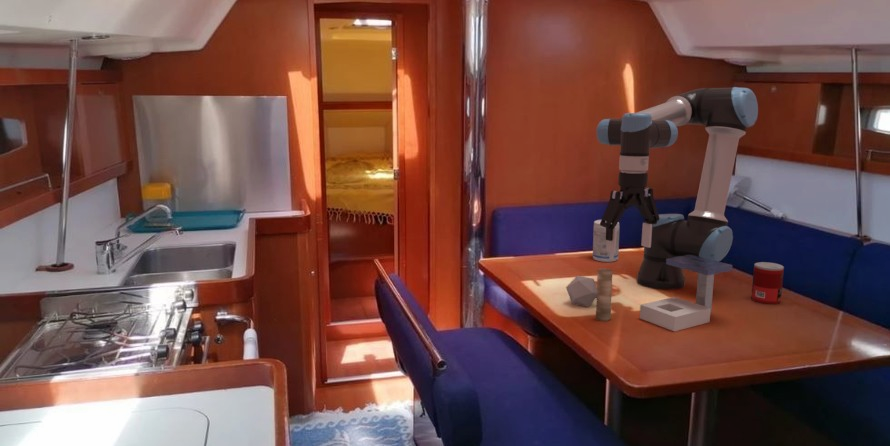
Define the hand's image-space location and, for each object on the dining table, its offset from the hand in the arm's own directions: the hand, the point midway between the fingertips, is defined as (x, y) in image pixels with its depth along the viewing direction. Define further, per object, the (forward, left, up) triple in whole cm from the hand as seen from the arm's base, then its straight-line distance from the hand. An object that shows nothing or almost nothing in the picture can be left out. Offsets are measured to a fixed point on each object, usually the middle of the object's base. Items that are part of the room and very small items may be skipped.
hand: (628, 249), depth 173 cm
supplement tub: (-53, +43, -20) cm, 71 cm away
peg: (-4, -5, -20) cm, 21 cm away
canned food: (+9, +49, -20) cm, 54 cm away
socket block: (+7, +11, -20) cm, 24 cm away
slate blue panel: (+7, +20, -20) cm, 29 cm away
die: (-17, -1, -20) cm, 26 cm away
